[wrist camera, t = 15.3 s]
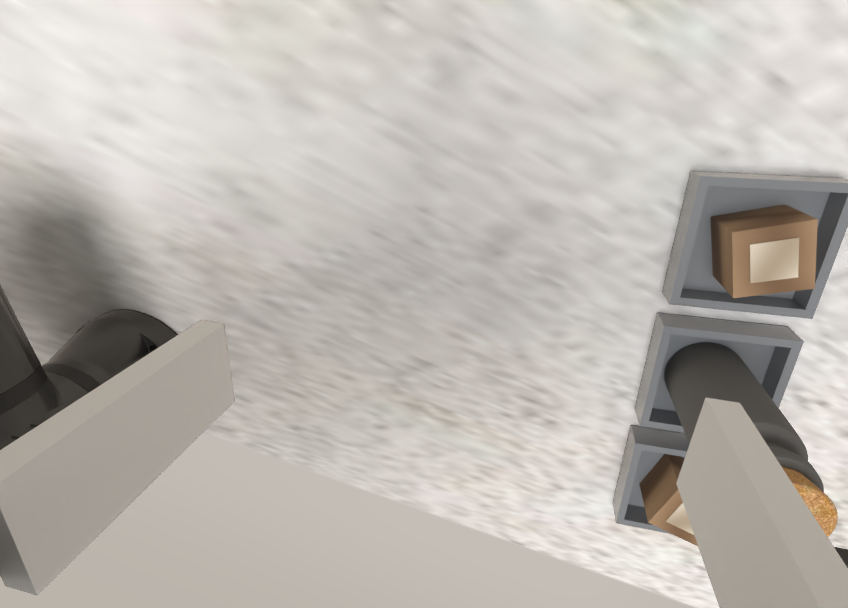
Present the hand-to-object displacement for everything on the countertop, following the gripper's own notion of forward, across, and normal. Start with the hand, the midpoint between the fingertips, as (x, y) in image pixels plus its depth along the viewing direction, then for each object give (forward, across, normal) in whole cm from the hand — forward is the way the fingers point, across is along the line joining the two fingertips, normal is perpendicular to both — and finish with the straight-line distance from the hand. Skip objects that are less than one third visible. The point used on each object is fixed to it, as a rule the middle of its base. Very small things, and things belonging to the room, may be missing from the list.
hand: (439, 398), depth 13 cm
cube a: (+26, +17, -1) cm, 32 cm away
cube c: (+26, +18, -23) cm, 39 cm away
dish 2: (+27, +17, -1) cm, 32 cm away
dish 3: (+27, +18, -12) cm, 34 cm away
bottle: (+27, +17, -12) cm, 34 cm away
